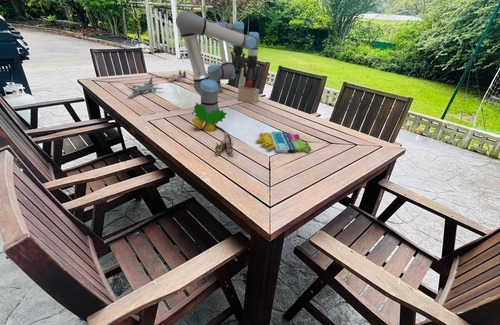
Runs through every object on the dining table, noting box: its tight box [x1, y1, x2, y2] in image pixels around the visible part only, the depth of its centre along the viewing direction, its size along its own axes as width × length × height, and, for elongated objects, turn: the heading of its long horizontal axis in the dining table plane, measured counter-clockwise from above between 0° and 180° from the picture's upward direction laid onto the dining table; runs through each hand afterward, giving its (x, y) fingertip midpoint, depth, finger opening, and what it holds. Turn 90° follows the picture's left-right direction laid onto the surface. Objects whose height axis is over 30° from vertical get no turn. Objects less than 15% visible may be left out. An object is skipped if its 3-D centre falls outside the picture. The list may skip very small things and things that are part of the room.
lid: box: [234, 66, 248, 89], centre depth 220 cm, size 16×10×8 cm
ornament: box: [191, 102, 228, 132], centre depth 162 cm, size 21×8×15 cm, turn 105°
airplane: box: [127, 75, 164, 99], centre depth 224 cm, size 38×31×10 cm
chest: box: [237, 86, 260, 104], centre depth 223 cm, size 15×10×10 cm, turn 64°
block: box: [245, 80, 253, 88], centre depth 204 cm, size 5×5×5 cm
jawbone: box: [214, 131, 234, 156], centre depth 136 cm, size 9×15×10 cm
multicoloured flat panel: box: [256, 131, 312, 154], centre depth 152 cm, size 26×2×30 cm
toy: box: [161, 70, 187, 82], centre depth 276 cm, size 28×7×30 cm
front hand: (250, 86), depth 205 cm, fingers closed on block, 5 cm apart
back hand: (237, 74), depth 220 cm, fingers closed on lid, 2 cm apart
